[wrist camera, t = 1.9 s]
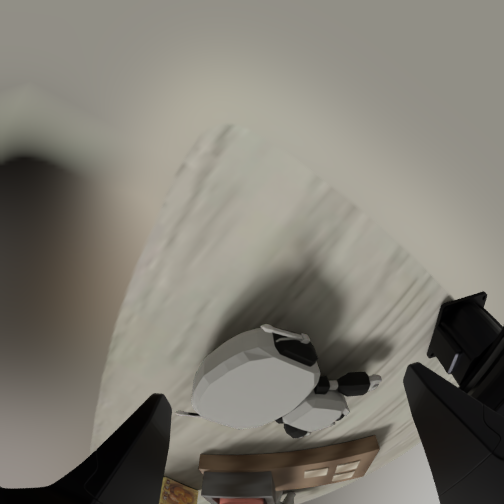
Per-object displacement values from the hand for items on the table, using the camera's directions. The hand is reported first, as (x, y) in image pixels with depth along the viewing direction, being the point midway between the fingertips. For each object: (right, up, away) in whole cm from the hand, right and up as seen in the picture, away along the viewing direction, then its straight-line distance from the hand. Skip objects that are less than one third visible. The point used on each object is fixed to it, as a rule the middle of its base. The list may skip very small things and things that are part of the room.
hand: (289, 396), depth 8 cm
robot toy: (+1, -6, +14) cm, 15 cm away
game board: (+4, -27, +22) cm, 35 cm away
